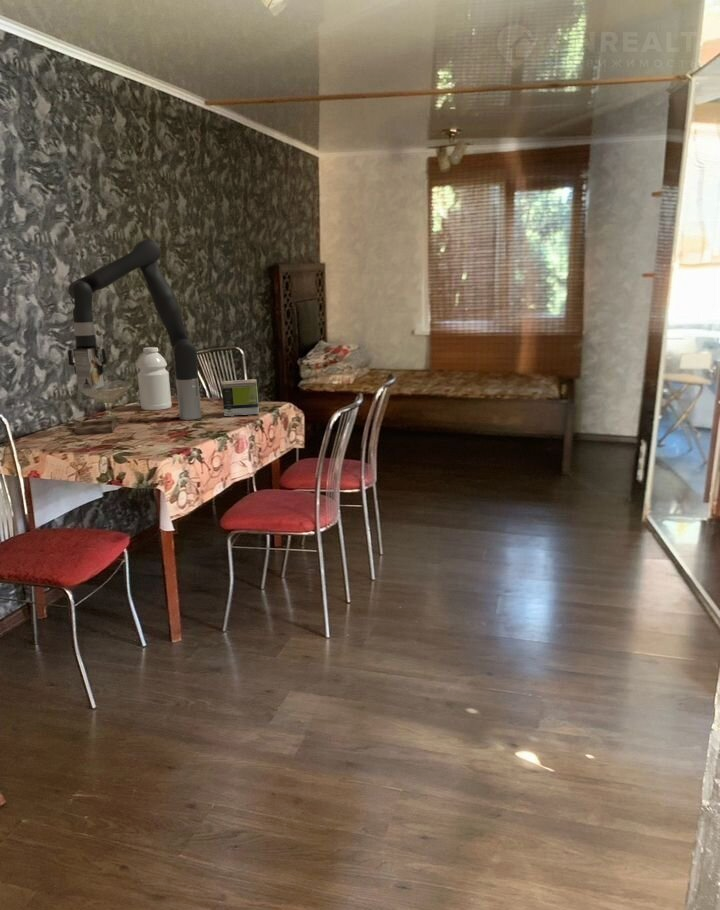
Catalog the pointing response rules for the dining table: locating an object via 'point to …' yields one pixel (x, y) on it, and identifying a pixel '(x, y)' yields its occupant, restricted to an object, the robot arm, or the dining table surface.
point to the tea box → (240, 397)
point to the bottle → (153, 381)
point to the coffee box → (87, 369)
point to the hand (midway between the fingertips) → (89, 375)
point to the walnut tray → (95, 427)
